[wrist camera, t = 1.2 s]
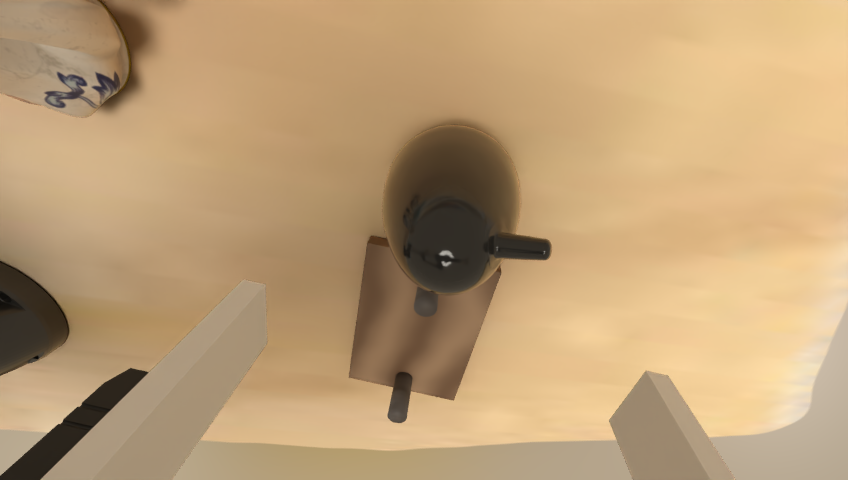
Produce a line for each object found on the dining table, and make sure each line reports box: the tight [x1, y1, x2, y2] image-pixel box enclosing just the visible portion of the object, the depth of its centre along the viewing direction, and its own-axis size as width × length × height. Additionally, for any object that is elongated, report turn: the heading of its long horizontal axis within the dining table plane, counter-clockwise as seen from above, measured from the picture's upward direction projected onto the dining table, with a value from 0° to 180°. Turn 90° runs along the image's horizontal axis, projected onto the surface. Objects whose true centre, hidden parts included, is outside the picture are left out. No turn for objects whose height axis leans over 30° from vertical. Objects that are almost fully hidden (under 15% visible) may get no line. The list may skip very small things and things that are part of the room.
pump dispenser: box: [382, 125, 552, 296], centre depth 23 cm, size 10×10×15 cm
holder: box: [349, 236, 501, 423], centre depth 35 cm, size 13×19×6 cm
